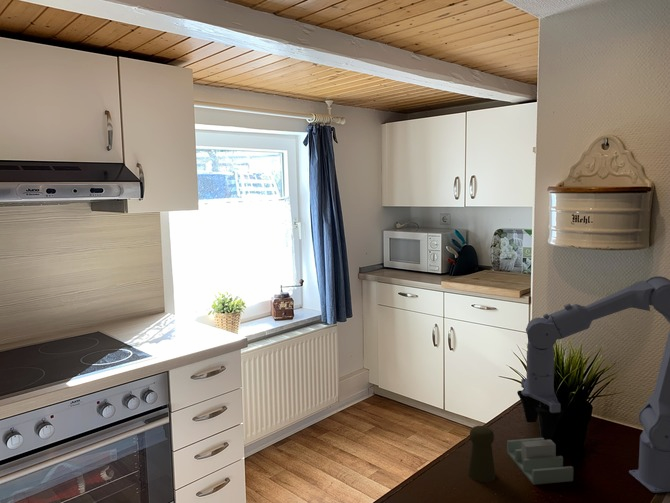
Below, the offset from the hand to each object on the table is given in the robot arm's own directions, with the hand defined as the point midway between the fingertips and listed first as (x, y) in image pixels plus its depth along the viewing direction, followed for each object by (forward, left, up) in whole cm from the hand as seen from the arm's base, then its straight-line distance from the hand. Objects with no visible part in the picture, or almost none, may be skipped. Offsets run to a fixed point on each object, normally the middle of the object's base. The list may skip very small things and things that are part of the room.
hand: (539, 429), depth 118 cm
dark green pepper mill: (+14, +1, -9) cm, 17 cm away
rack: (0, 0, -9) cm, 9 cm away
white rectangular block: (0, 0, -8) cm, 8 cm away
